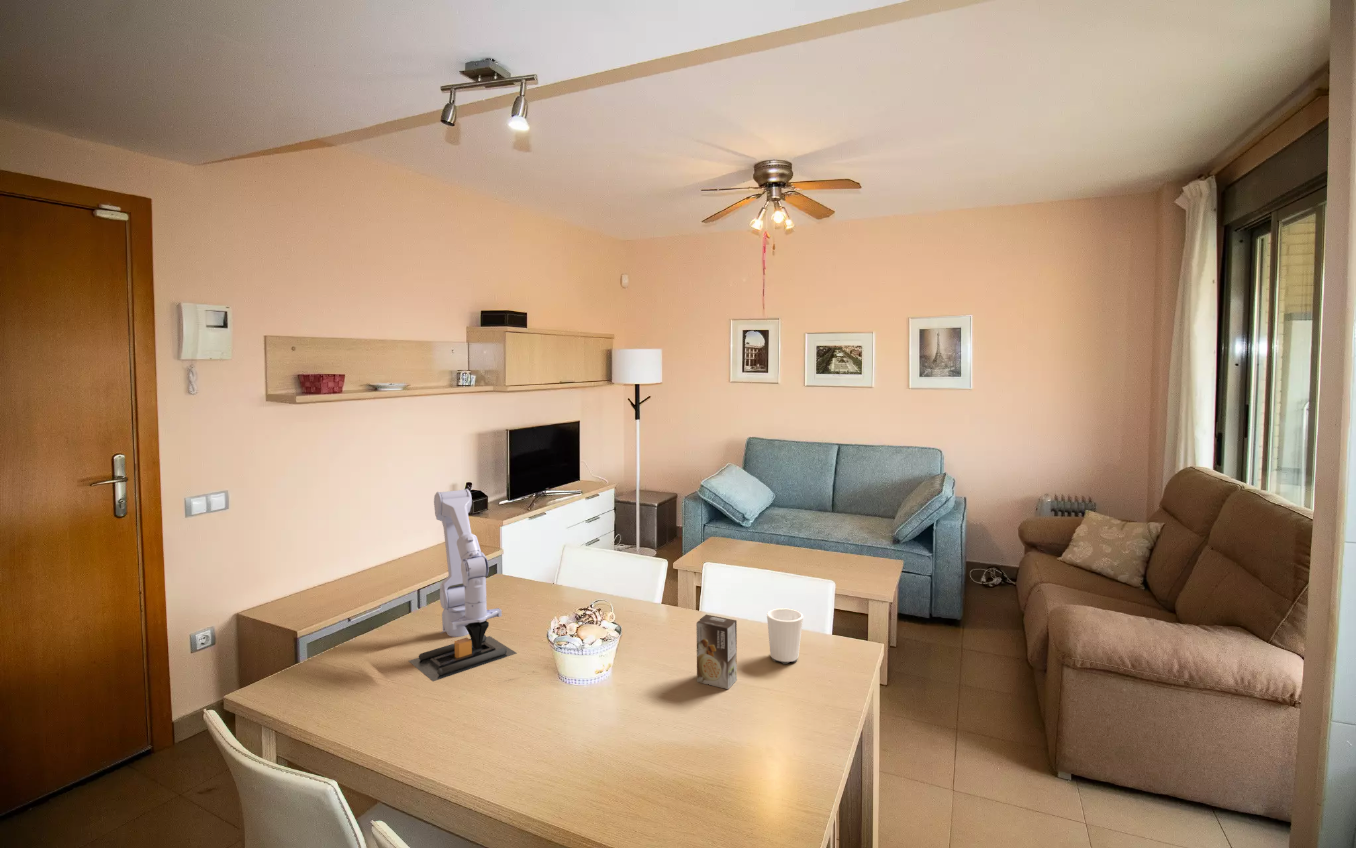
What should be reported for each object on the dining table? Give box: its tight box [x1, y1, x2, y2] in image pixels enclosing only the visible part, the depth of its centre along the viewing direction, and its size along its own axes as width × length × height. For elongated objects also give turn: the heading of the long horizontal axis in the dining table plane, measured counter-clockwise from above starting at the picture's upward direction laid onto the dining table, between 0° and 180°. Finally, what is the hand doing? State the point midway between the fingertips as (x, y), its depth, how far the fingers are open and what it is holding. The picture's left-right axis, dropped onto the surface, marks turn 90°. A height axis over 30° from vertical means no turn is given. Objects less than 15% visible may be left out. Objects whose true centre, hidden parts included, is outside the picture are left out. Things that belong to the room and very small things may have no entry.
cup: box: [766, 607, 804, 665], centre depth 187 cm, size 10×10×13 cm
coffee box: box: [695, 614, 738, 690], centre depth 174 cm, size 9×6×16 cm
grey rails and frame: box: [418, 634, 507, 675], centre depth 186 cm, size 14×20×2 cm
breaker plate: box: [408, 635, 518, 682], centre depth 186 cm, size 16×24×2 cm, turn 133°
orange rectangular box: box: [453, 637, 472, 658], centre depth 185 cm, size 3×4×4 cm
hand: (477, 647), depth 188 cm, fingers closed
